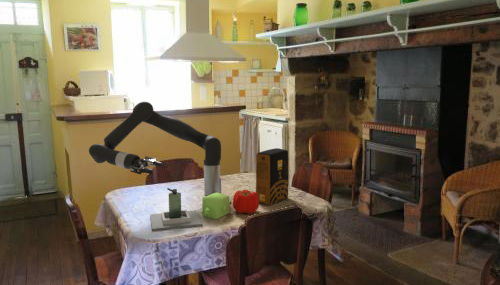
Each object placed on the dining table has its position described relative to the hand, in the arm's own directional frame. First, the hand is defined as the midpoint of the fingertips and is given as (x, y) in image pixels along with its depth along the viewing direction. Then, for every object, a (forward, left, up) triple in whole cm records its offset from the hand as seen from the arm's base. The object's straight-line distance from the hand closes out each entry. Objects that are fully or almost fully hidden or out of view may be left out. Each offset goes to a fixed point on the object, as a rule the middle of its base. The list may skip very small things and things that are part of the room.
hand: (157, 168), depth 190 cm
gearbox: (-27, +5, -24) cm, 36 cm away
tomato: (-42, +4, -24) cm, 49 cm away
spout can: (-7, +7, -23) cm, 25 cm away
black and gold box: (-61, -11, -24) cm, 66 cm away
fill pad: (-7, +7, -24) cm, 26 cm away
